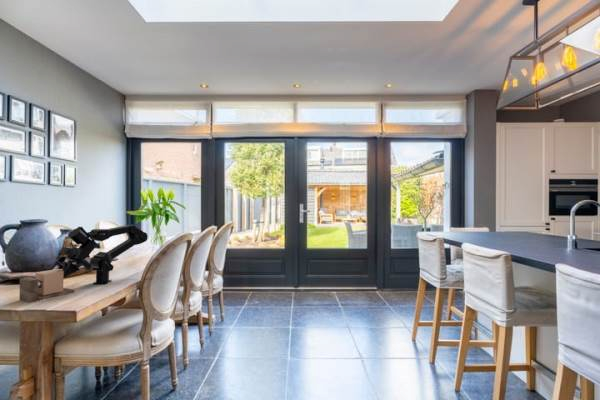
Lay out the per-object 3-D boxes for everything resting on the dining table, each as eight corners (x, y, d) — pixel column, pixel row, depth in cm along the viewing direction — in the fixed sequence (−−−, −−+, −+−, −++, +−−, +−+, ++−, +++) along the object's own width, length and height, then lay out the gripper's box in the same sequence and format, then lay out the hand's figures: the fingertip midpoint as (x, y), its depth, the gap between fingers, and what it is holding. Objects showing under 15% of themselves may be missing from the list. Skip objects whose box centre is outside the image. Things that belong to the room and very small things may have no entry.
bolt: (46, 284, 147) (46, 279, 147) (49, 284, 146) (49, 280, 146) (30, 287, 141) (30, 282, 141) (33, 288, 141) (33, 283, 141)
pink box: (54, 289, 152) (55, 269, 152) (63, 290, 150) (63, 270, 150) (35, 293, 145) (35, 272, 145) (43, 295, 142) (43, 274, 142)
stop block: (61, 289, 156) (62, 270, 156) (74, 292, 153) (74, 272, 153) (18, 299, 140) (18, 278, 140) (30, 302, 137) (31, 280, 137)
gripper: (59, 238, 160) (33, 265, 150) (85, 241, 152) (59, 270, 142) (76, 252, 167) (52, 279, 157) (101, 256, 160) (78, 284, 149)
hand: (59, 278), depth 151 cm, fingers closed, pressing on pink box
